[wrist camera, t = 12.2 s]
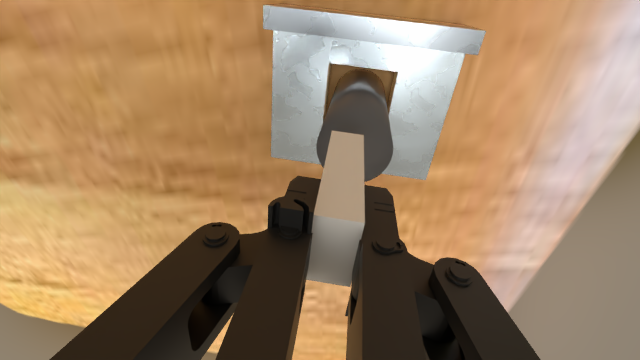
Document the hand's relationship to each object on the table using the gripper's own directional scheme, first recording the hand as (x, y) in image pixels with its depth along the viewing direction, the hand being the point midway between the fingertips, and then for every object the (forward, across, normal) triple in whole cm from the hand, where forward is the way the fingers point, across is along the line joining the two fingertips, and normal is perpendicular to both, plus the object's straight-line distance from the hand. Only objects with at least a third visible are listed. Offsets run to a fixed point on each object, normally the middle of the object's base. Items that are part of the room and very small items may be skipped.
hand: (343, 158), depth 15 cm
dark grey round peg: (+17, +1, -2) cm, 18 cm away
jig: (+17, +1, -2) cm, 17 cm away
